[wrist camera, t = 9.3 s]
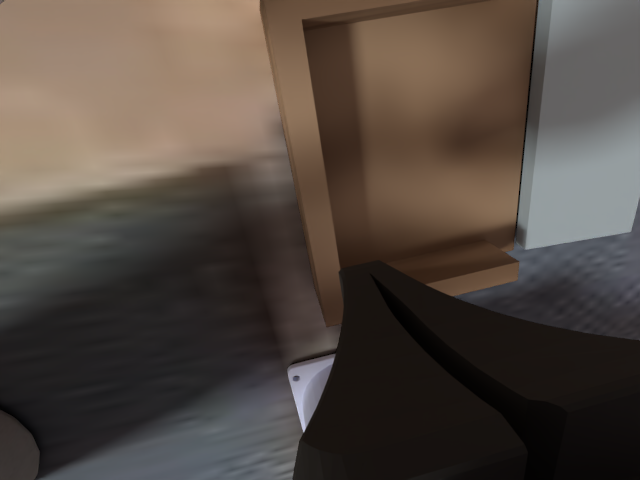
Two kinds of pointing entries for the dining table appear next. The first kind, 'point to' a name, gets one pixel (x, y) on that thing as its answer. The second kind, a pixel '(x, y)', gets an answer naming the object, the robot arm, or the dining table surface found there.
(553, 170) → the cabinet door
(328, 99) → the brown shallow open box
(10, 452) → the canister
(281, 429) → the dining table surface
